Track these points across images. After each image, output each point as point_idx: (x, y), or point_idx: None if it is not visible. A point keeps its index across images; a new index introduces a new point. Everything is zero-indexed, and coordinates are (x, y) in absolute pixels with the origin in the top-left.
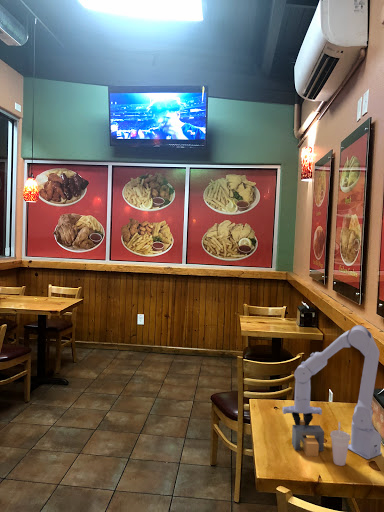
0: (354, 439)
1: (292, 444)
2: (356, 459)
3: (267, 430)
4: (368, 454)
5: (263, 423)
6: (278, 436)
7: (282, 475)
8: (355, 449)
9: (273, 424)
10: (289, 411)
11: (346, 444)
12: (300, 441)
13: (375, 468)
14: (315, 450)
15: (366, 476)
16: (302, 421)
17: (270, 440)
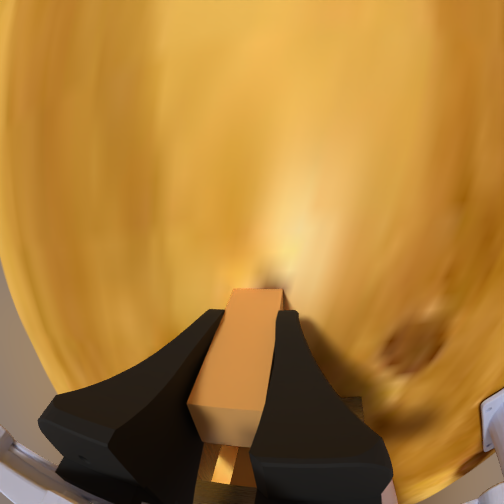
0: (501, 467)
1: None
2: (450, 455)
3: (31, 229)
4: (496, 453)
5: (8, 124)
6: (96, 309)
7: None
8: (490, 433)
9: (53, 115)
10: (43, 481)
11: None
12: (211, 478)
13: (464, 471)
14: None
15: (406, 498)
16: (237, 440)
17: (71, 346)
